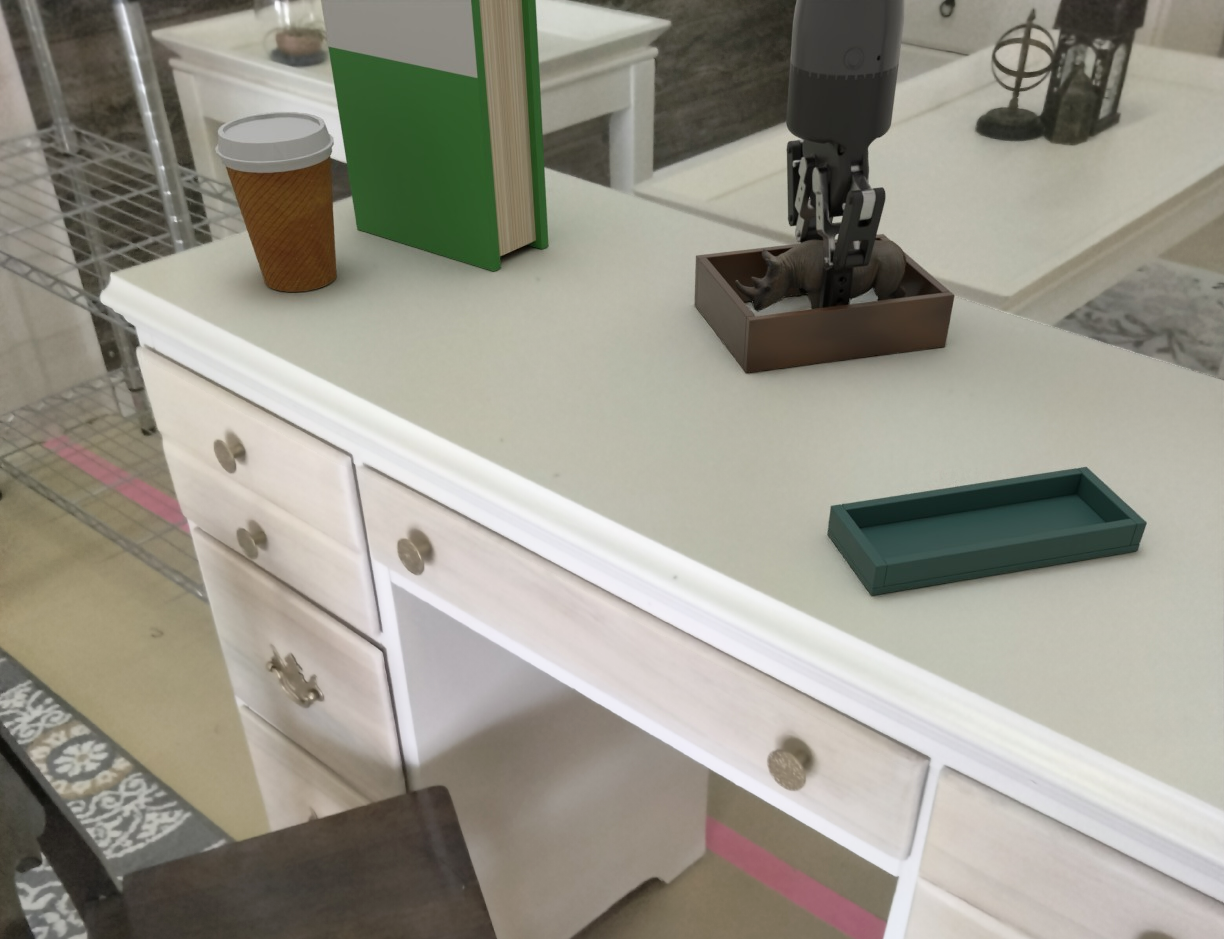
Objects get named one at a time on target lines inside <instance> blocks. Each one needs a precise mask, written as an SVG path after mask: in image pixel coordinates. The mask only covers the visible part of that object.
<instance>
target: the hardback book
mask: <svg viewBox="0 0 1224 939" xmlns="http://www.w3.org/2000/svg"><path fill="white" fill-rule="evenodd" d="M320 3H321V10H322V16H323V22H324V29H325V35H326V41H327V48H328V54H329V61H330V66H331V67H330V68H331V74H332V79H333V85H334V86H333V87H334V91H335V98H336V106H337V110H338V118H339V123H340V127H341V128H340V130H341V135H342V136H341V137H342V142H343V149H344V154H345V160H346V168H347V175H348V179H349V186H350V192H351V199H352V206H353V211H354V218H355V224H356V230H358V231H362V232H364V233H367V234H371V235H373V236H377V237H380V238H384V239H387V240H391V241H393V242H397V243H400V244H404V245H406V246H410V247H414V248H416V249H419V250H422V251H426V252H428V253H429V252H430V253H432V254H435V255H439V256H441V257H445V258H449V259H451V260H455V261H458V262H462V263H465V264H468V265H471V266H475V267H478V268H481V269H483V270H488V271H490V272H496V271H498V270H501V268H502V265H501V257H502V256H505V255H506V254H509V253H511V252H513V251H515V250H517V249H520V248H522V247H524V246H529V247H533V248H536V249H539V250H544V249H547V248H548V247H549V229H548V209H547V190H546V188H547V187H546V170H545V169H546V168H545V152H544V135H543V134H544V132H543V130H544V129H543V115H542V113H543V112H542V97H541V95H542V94H541V76H540V75H541V74H540V58H539V57H540V55H539V38H538V20H537V19H538V18H537V16H538V15H537V0H320Z"/></svg>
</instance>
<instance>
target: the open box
mask: <svg viewBox="0 0 1224 939" xmlns="http://www.w3.org/2000/svg"><path fill="white" fill-rule="evenodd" d="M875 240H879V241H884V240H891V239H890V238H889V237H887V235H885V234H884V233H879V234H877V235H876V238H875ZM859 242H860V241H859ZM836 243H837V238H835V245H836ZM798 244H799V243H792V244H784V245H775V246H767V247H758V248H750V249H739V250H731V251H723V252H714V253H705V254H697V255H695V269H694V270H695V272H694V274H695V275H694V300H693V301H694V304H693V305H694V306H695V308H696V309H697V310H698V312H699V313H700V314H701V315H702V317H703V318H704V319H705V321H706V322H707V323H708V325H709V326H710V328H711V329H712V330H713V331H714V332H715V335H717V337H718V338H719V339H720V340H721V342H722V343H723V344H724V346H725V347H726V348H727V350H728V351H729V352H730V353H731V355H732V356H733V357H734V359H735V361H736V362H737V363H738V364H739V365H740V367H741V369H743V371H744V372H745V373H747V374H748V373H756V372H763V371H770V370H778V369H785V368H786V369H787V368H795V367H801V366H810V365H815V364H823V363H832V362H839V361H847V360H854V359H863V358H868V356H870V357H876V356H875V355H877V356H884V355H883V354H885V355H890V354H889V353H893V354H898V353H897V352H899V353H907V352H915V351H922V350H929V349H936V348H937V349H938V348H944V347H946V346H947V339H948V334H949V328H950V323H951V317H952V312H953V308H954V307H953V306H954V301H955V294H954V293H953V292H952V291H950V290H949V289H948V288H947V287H946V286H944V285H943V284H942V283H941V282H940V281H939V280H938V279H937V278H935V277H934V276H933V275H932V274H930V272H928V271H927V270H926V269H925V268H924V267H922V266H921V265H920V264H919V263H918V262H916V261H915V260H914V259H913V257H912V256H911V257H910V255H909V254H907V253H906V252H905V251H904V253H905V256H906V266H905V275H904V276H903V277H902V280H901V282H900V284H901V285H902V286H903V288H904V289H905V291H906V295H905V296H904V298H897V299H889V300H881V301H877V300H875V301H874V300H873V301H866V302H858V303H849V305H841V306H833V307H825V308H817V309H811V308H809V309H801V310H794V311H793V310H792V311H786V312H785V311H784V312H777V313H769V314H762V315H761V314H760V315H755V314H754V313H753V311H752V310H751V309H750V308H749V306H748V305H747V304H746V303H747V302H752V301H751V300H750V299H749V298H747V297H746V296H745V295H743V294H742V293H741V292H740V291H739V290H738V289H737V287H736V284H735V281H736V280H738V281H739V283H740V284H741V285H743V286H746V287H755V286H754V283H753V281H752V279H751V278H752V277H756V278H759V279H762V278H764V277H765V276H766V273H767V270H768V266H767V265H766V261H765V260H764V259H763V257H762V250H763V249H765V250H766V251H768V252H769V253H770V254H772V255H773V256H775V257H776V256H779V255H780V254H782V253H785V252H786V251H788V250H790V249H791V248H793V247H795V246H796V245H798ZM803 295H808V293H807V294H802V293H800V292H799V291H798V290H797V288H794V287H791V288H790V289H789V290H788V292H787V294H786V295H785V296H784V297H783V298H787V297H788V298H789V297H796V296H803ZM881 354H882V355H881Z"/></svg>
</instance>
